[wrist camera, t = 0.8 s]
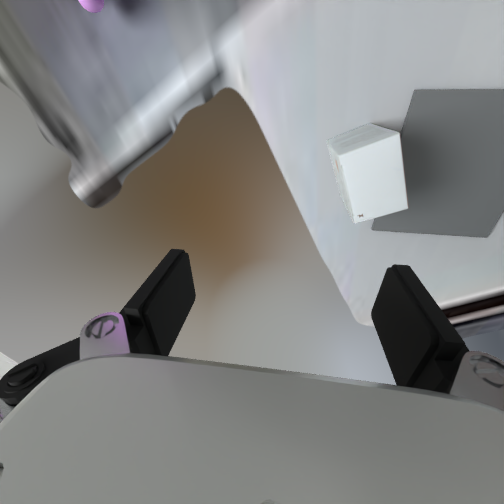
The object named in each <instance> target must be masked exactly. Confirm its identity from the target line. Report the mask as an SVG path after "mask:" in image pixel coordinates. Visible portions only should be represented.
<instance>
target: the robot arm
mask: <svg viewBox="0 0 504 504" xmlns="http://www.w3.org/2000/svg"><path fill="white" fill-rule="evenodd" d="M195 296H196V295H195V289H194V283H193V277H192V272H191V266H190V260H189V255H188V253H185V251H184V250H180V249H171V250H170V251H169V252H168V254H167V255H166V256H165V257H164V259H163V260H162V261H161V262H160V263H159V265H158V266H157V267H156V268H155V270H154V271H153V272H152V273H151V274H150V276H149V277H148V278H147V280H146V281H145V282H144V283H143V284H142V285H141V287H140V288H139V289H138V290H137V292H136V293H135V294H134V295H133V297H132V298H131V299H130V300H129V301H128V303H127V304H126V305H125V306H124V308H123V309H122V310H121V312H120V313H116V312H107V313H103V314H100V315H98V316H96V317H94V318H92V319H91V320H89V321H88V322H87V323H86V324H85V325H84V326H83V328H82V330H81V333H80V337H79V338H76V339H74V340H72V341H69V342H67V343H65V344H62V345H60V346H58V347H56V348H53V349H51V350H49V351H46V352H44V353H42V354H39V355H37V356H35V357H33V358H31V359H28V360H26V361H24V362H22V363H20V364H18V365H16V366H15V367H14V368H12V369H11V370H9V371H8V372H7V373H6V374H5V375H4V376H3V377H2V379H1V380H0V504H504V362H503V361H502V360H500V359H498V358H496V357H494V356H492V355H490V354H487V353H483V352H480V351H469V350H468V348H467V347H466V345H465V342H464V341H463V340H462V338H461V337H460V335H459V334H458V333H457V331H456V330H455V328H454V327H453V326H452V324H451V323H450V321H449V320H448V319H447V317H446V316H445V315H444V313H443V312H442V310H441V309H440V308H439V306H438V305H437V303H436V302H435V301H434V299H433V298H432V296H431V295H430V294H429V292H428V291H427V290H426V288H425V287H424V285H423V284H422V283H421V281H420V280H419V278H418V277H417V276H416V274H415V273H414V272H413V270H412V269H411V267H410V266H408V265H393V266H392V267H389V268H388V269H387V270H386V273H385V276H384V279H383V281H382V284H381V287H380V290H379V292H378V295H377V298H376V300H375V303H374V306H373V309H372V312H371V316H372V320H373V323H374V325H375V328H376V331H377V334H378V336H379V339H380V341H381V344H382V347H383V350H384V352H385V355H386V358H387V360H388V363H389V366H390V368H391V371H392V374H393V377H394V379H395V382H396V385H390V384H383V383H376V382H368V381H361V380H353V379H346V378H338V377H331V376H323V375H316V374H308V373H300V372H292V371H284V370H277V369H268V368H261V367H253V366H245V365H237V364H228V363H221V362H212V361H204V360H196V359H188V358H179V357H170V356H168V355H169V353H170V351H171V349H172V347H173V344H174V342H175V340H176V338H177V336H178V334H179V332H180V330H181V328H182V326H183V324H184V322H185V320H186V317H187V316H188V314H189V311H190V309H191V307H192V305H193V303H194V301H195Z"/></svg>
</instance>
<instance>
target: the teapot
mask: <svg viewBox="0 0 504 504" xmlns="http://www.w3.org/2000/svg"><path fill="white" fill-rule="evenodd" d="M78 1H79V2H80V4H81V5H82V6H83V7H84V8H85V9H86V10H87V11H89V12H92V13H97V12H100V11H101V10H102V8H103V6H104V0H78Z"/></svg>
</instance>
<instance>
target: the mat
mask: <svg viewBox="0 0 504 504" xmlns="http://www.w3.org/2000/svg"><path fill="white" fill-rule="evenodd" d="M400 137H401V146H402V155H403V164H404V172H405V181H406V190H407V198H408V207H409V208H408V209H404V210H401V211H398V212H394V213H391V214H387V215H384V216H380V217H377V218H375V219H374V222H373V225H372V230H375V231H390V232H406V233H421V234H437V235H452V236H468V237H483V238H487V237H488V235H489V234H490V232H491V230H492V229H493V227H494V226H495V224H496V222H497V221H498V219H499V218H500V216H501V214H502V213H503V211H504V89H497V90H414V93H413V96H412V99H411V103H410V106H409V109H408V112H407V115H406V119H405V122H404V125H403V128H402V132H401V135H400Z"/></svg>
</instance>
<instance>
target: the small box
mask: <svg viewBox="0 0 504 504" xmlns="http://www.w3.org/2000/svg"><path fill="white" fill-rule="evenodd" d="M327 145H328V149H329V153H330V157H331V161H332V165H333V169H334V173H335V177H336V181H337V185H338V189H339V193H340V196H341V198H342V200H343V203H344V205H345V207H346V209H347V211H348V213H349V215H350V217H351V219H352V222H353V224H355V223H359V222H363V221H366V220H370V219H373V218H377V217H380V216H384V215H387V214H391V213H394V212H398V211H401V210H404V209H408V208H409V207H408V198H407V190H406V181H405V172H404V164H403V155H402V146H401V137H400V133H399V132H396V131H393V130H390V129H387V128H383V127H380V126H377V125H374V124H371V123H368V124H366V125H363V126H361V127H358V128H356V129H353V130H351V131H348V132H346V133H343V134H341V135H338V136H336V137H334V138H331V139H329V140H327Z"/></svg>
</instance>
